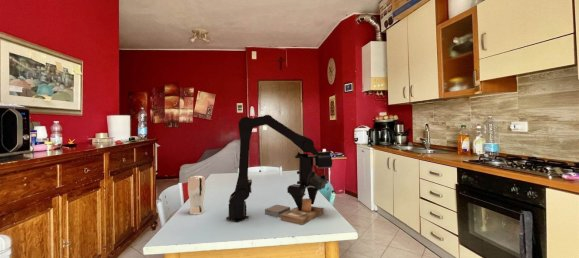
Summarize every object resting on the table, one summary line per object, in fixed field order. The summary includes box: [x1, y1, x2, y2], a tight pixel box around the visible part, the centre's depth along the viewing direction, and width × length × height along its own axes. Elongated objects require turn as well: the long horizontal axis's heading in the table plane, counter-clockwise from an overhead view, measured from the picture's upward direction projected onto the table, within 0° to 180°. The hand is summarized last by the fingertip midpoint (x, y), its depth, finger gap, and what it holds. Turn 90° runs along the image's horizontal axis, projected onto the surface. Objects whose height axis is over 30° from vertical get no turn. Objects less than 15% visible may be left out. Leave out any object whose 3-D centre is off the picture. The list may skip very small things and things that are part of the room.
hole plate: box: [279, 205, 324, 226], centre depth 110 cm, size 16×10×2 cm, turn 145°
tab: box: [264, 204, 291, 218], centre depth 115 cm, size 8×7×2 cm
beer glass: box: [187, 175, 206, 215], centre depth 117 cm, size 7×7×15 cm
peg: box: [302, 198, 312, 213], centre depth 113 cm, size 4×4×6 cm
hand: (306, 207), depth 113 cm, fingers open, 9 cm apart
